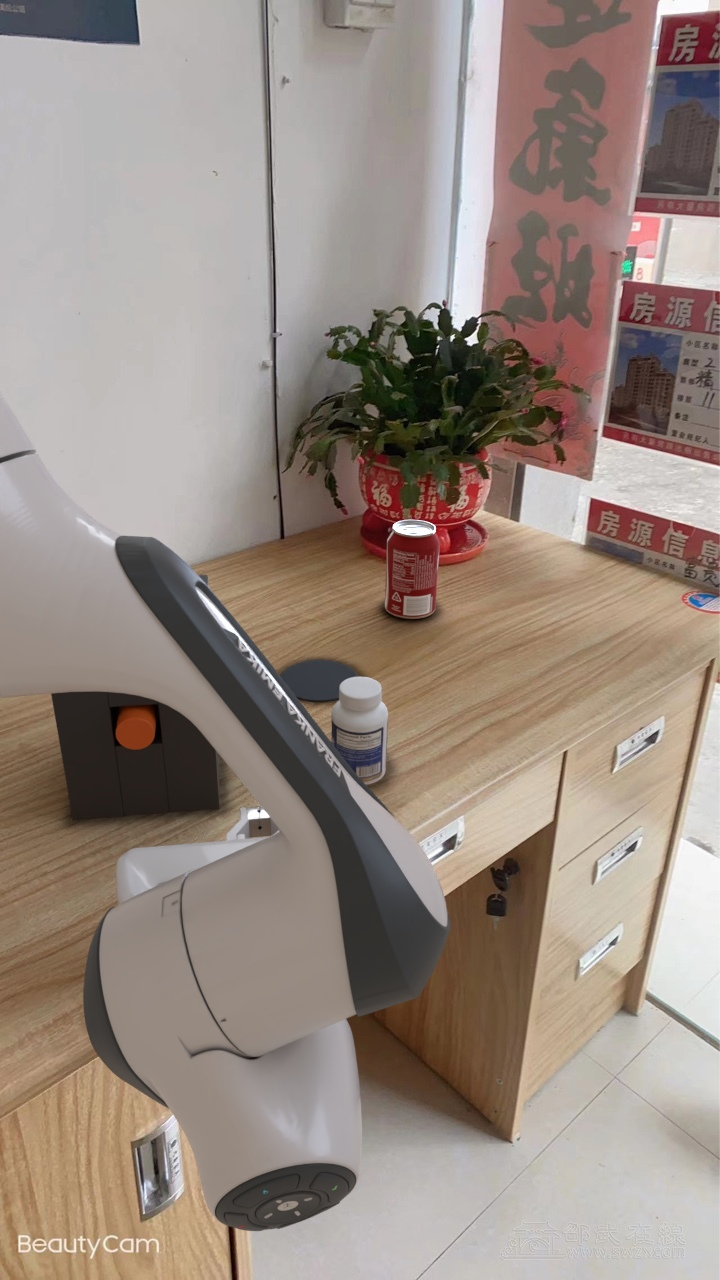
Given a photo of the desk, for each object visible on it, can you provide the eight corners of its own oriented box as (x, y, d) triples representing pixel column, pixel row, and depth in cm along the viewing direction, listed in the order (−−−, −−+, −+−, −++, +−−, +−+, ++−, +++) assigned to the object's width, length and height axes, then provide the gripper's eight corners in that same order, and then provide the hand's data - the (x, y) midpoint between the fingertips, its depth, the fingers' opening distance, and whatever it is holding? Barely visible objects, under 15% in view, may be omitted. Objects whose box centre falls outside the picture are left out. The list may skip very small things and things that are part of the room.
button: (117, 751, 75) (113, 719, 73) (121, 728, 77) (117, 697, 76) (156, 748, 75) (152, 717, 73) (158, 726, 78) (155, 695, 76)
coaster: (282, 707, 96) (282, 702, 96) (277, 666, 104) (277, 662, 104) (364, 702, 98) (364, 697, 97) (352, 662, 106) (352, 657, 105)
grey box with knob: (73, 823, 79) (42, 647, 70) (90, 740, 90) (65, 580, 82) (219, 812, 81) (207, 639, 72) (218, 732, 92) (208, 574, 83)
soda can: (437, 623, 115) (443, 537, 109) (385, 622, 115) (388, 536, 109) (433, 601, 121) (438, 518, 115) (383, 600, 121) (386, 517, 115)
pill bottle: (343, 750, 90) (344, 667, 85) (393, 762, 88) (397, 679, 83) (322, 780, 85) (322, 695, 81) (374, 794, 83) (377, 707, 79)
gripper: (431, 898, 56) (392, 769, 68) (100, 931, 53) (121, 790, 65) (426, 968, 59) (389, 833, 71) (112, 1003, 56) (130, 855, 68)
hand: (258, 812), depth 68 cm, fingers closed
